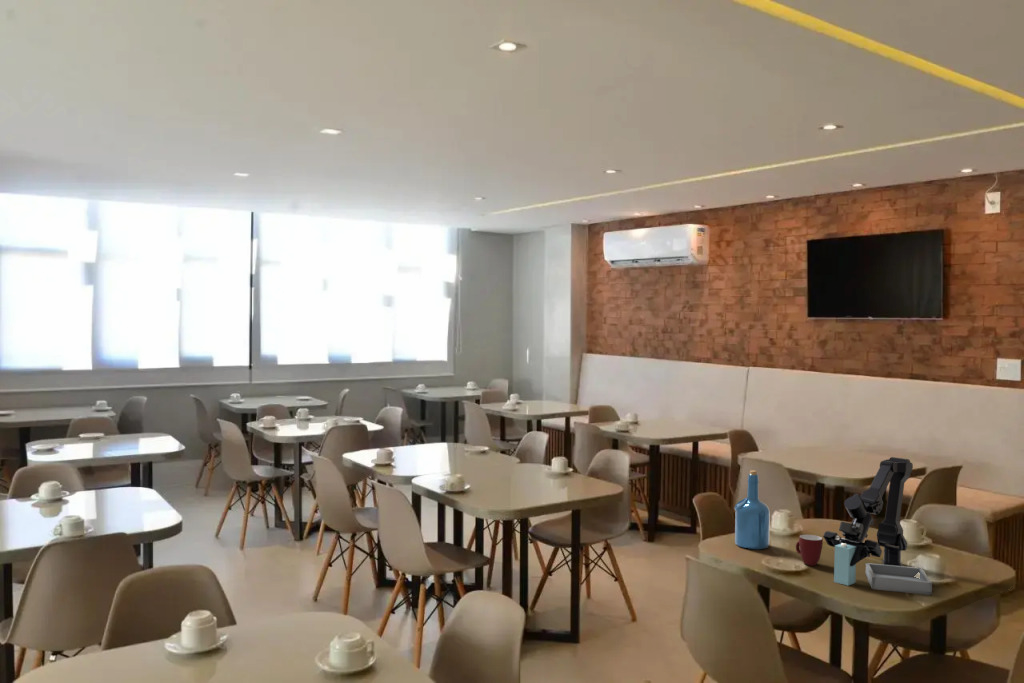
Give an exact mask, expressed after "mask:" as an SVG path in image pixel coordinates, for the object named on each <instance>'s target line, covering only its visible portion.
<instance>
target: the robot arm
mask: <svg viewBox="0 0 1024 683" xmlns="http://www.w3.org/2000/svg"><path fill="white" fill-rule="evenodd" d="M913 468H914V467H913V462H911V460H910V459H909V458H903V457H895V456H891V457H890V458H889V459H883V460H881V461H880V463H879V468H878V470H877V472H876V474H875V476H874V477H873V480H872V481H871V485H870V486H869V488H868V489H867V490H865V491H863V492H862V493H861V494H857V493H854V494H853V496H849V497H848V498H846V499H845V500H844V503H843V504H844V507H845V509H846V511H847V513H848V514H849V516H850V517H851V518H852V521H851V522H847V521H846V522H845V521H841V522H840V523H839V524H840V525H839V529H838V531H839V532H842V533H841V534H842V536H843V537H841V536H839V534H838V533H837V532H835V531H830V530H826V531H824V533H823V535H822V538H823V540H825V542H826V543H827V545H828V546H830V547H833V548H835V545H838V544H841V543H846V544H847V545H852V546H856V551H855V553H854V555H853V558H852V560H851V562H850V566H851V567H852V566H853V565H855V564H857V563H859V562H861V561H862V560H864V559H866V558H870V557H871V556H872V557H877V558H881V555H882V554H883V559H881V563H882V564H883V565H894V566H904V565H903V563H902V557H901V556H902V552H903V551H907V549H908V541H907V540H906V538H905V536H904V529H903V527H902V524H901V522H900V520H901V512H902V505H903V497H904V489H905V483H906V482H907V481H908V479H909V478H910V477H911V475H912V474H911V473H912V471H913ZM888 485H889V486H888ZM887 488H888V493H887V494H888V495H887V501H886V502H887V503H886V510H885V516H884V517H885V518H884V520H882V522H879V524H878V530H877V532H876V539H877V540H872V539H871V540H870V539H867V538H868V536H869V535H868V532H869V529H870V527H871V525H874V524H875V522H874V519H873V516H872V515H871V514H873V515H879V514H880V512H882V510H883V506H884V501H883V496H884V494H885V492H886V490H887ZM881 547H882V548H883V550H882V548H881Z"/></svg>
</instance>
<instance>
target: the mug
mask: <svg viewBox="0 0 1024 683" xmlns="http://www.w3.org/2000/svg"><path fill="white" fill-rule="evenodd" d="M823 540H824V538H823V536H822V537H821V536H818V535H815V534H800V535H799V537H798V541H797V542H796V543H795V550H796V552H797V553H798V554H799V555H800V556H801V559H802V561H803V564H805V563H806V564H808V565H807V566H809V567H810V566H811V567H814V566H817V564H818V562H819V561H820V559H821V555H822V552H823V551H822V550H823V544H824V542H823ZM806 564H805V565H806Z"/></svg>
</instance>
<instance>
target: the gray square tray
mask: <svg viewBox="0 0 1024 683" xmlns="http://www.w3.org/2000/svg"><path fill="white" fill-rule="evenodd" d="M921 568H922V567H915V566H904V565H903V566H894V565H883V563H882V564H881V563H871V562H866V563H865V572H864V574H865V576H866V578H867V581H868V583H869V585H870V588H871V589H872V590H878V591H888V592H897V593H907V594H908V593H910V594H917V595H926V596H932V595H933V582H932V580H930V578H929V577H928V575H927V574H926V572H925V571H924V569H923V568H922V569H921ZM918 572H919V573H920V579H919V578H916V577H914V576H915V575H916V574H917V573H918Z"/></svg>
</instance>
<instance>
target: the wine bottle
mask: <svg viewBox="0 0 1024 683" xmlns="http://www.w3.org/2000/svg"><path fill="white" fill-rule="evenodd" d="M747 476H748V477H747V493H746V494H747V495H746V497H745V498H743V499H741V500H739V501H738V502H737V503H736V504H735V506H734V510H735V514H734V515H735V517H734V518H735V521H734V524H735V526H734V543H735V545H736V546H738V547H739V548H743V549H746V548H748V549H749V550H764V549H767V548H769V545H770V523H771V522H770V519H771V515H770V514H771V511H770V508H769V506H768V505H767V504H766V503H764V502H763V501H761V500H760V498H759V484H760V482H759V479H760V478H759V474H758V472H757V470H750V471H749V474H748V475H747Z"/></svg>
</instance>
